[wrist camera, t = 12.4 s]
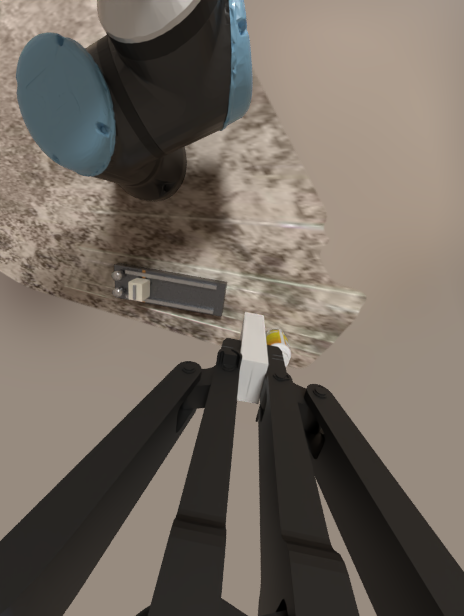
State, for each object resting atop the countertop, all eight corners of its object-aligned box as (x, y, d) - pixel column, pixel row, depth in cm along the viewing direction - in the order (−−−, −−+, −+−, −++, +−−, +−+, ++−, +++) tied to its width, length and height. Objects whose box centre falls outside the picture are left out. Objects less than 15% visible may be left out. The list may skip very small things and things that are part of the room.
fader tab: (137, 277, 52) (126, 282, 47) (150, 279, 52) (140, 285, 47) (137, 293, 53) (127, 300, 49) (149, 296, 53) (140, 302, 49)
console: (119, 262, 53) (108, 266, 50) (227, 282, 53) (225, 286, 49) (120, 294, 56) (110, 299, 53) (222, 313, 55) (220, 319, 52)
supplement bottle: (259, 341, 57) (260, 365, 48) (270, 323, 55) (274, 345, 46) (278, 350, 58) (283, 376, 48) (290, 333, 56) (298, 357, 46)
